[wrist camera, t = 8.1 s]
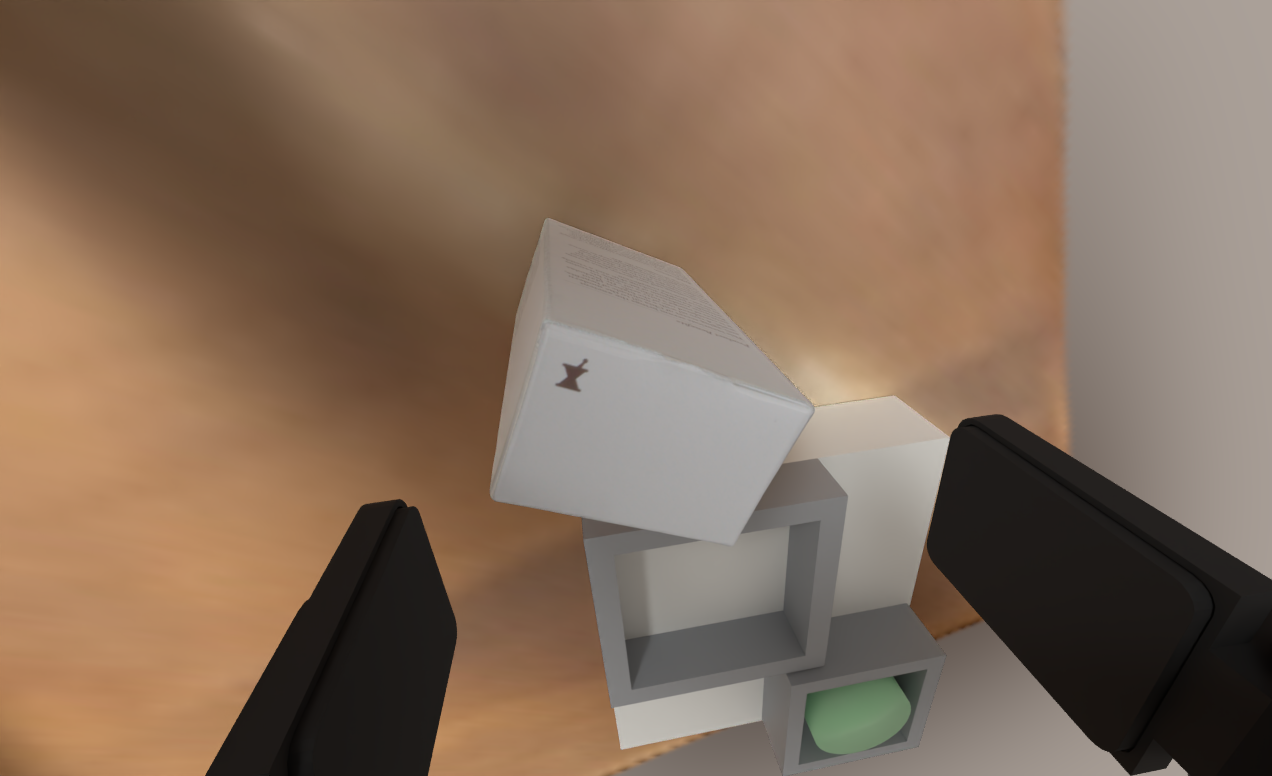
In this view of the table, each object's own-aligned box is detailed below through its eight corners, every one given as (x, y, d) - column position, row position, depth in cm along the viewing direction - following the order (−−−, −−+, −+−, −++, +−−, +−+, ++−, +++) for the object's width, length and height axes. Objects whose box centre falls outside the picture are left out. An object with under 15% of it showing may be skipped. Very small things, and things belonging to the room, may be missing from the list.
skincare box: (514, 316, 21) (476, 503, 10) (545, 214, 19) (539, 310, 9) (649, 358, 23) (736, 555, 12) (687, 267, 21) (826, 403, 10)
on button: (794, 650, 26) (818, 702, 24) (885, 632, 27) (918, 682, 24) (788, 709, 28) (810, 762, 26) (873, 692, 29) (902, 742, 26)
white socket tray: (575, 442, 24) (584, 549, 18) (894, 395, 26) (1004, 479, 19) (613, 681, 32) (628, 812, 26) (853, 635, 34) (921, 748, 27)
